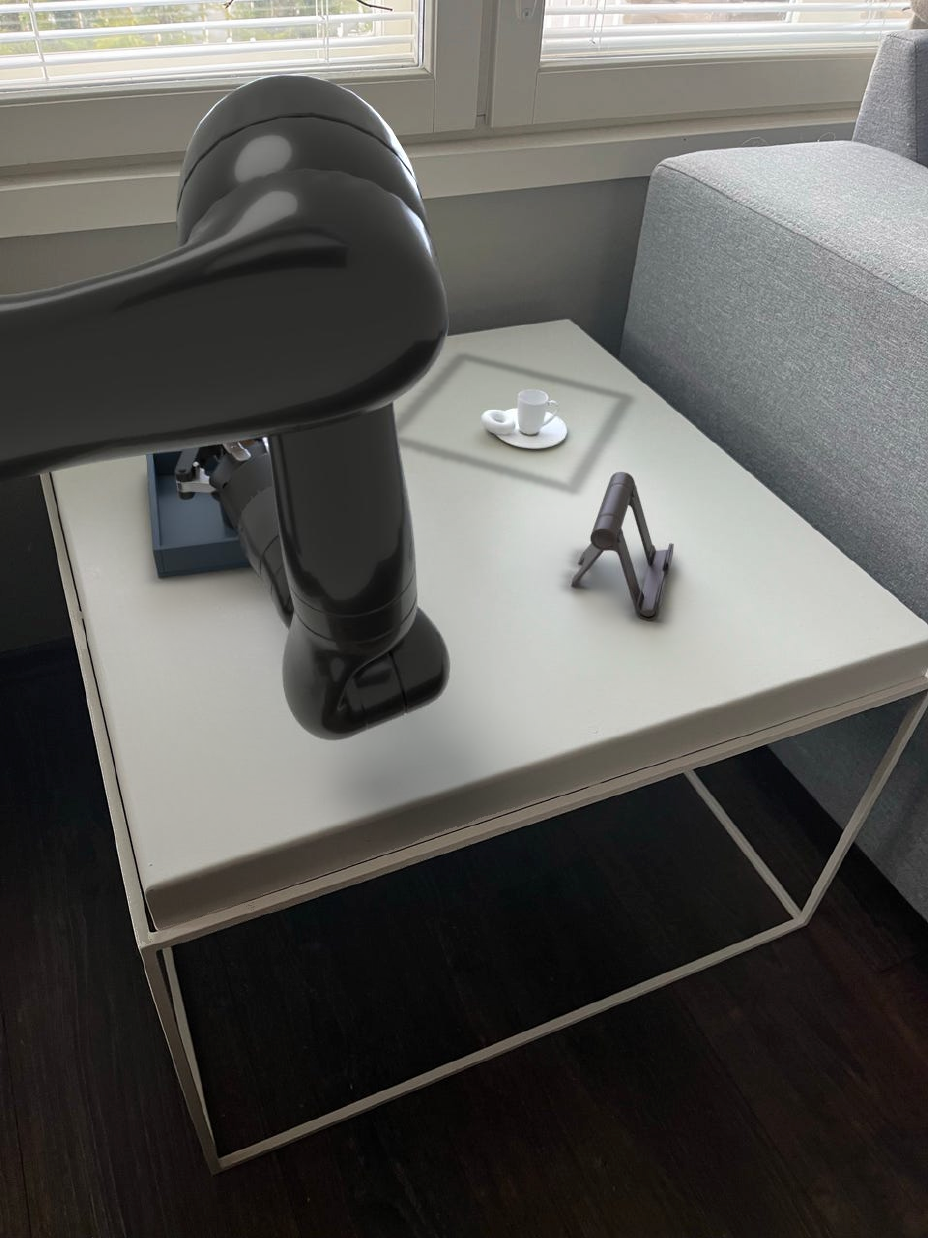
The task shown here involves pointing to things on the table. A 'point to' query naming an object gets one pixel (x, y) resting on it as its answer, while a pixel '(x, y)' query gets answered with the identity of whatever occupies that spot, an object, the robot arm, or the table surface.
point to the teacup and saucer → (527, 422)
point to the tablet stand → (612, 538)
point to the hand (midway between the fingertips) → (227, 411)
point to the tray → (188, 524)
